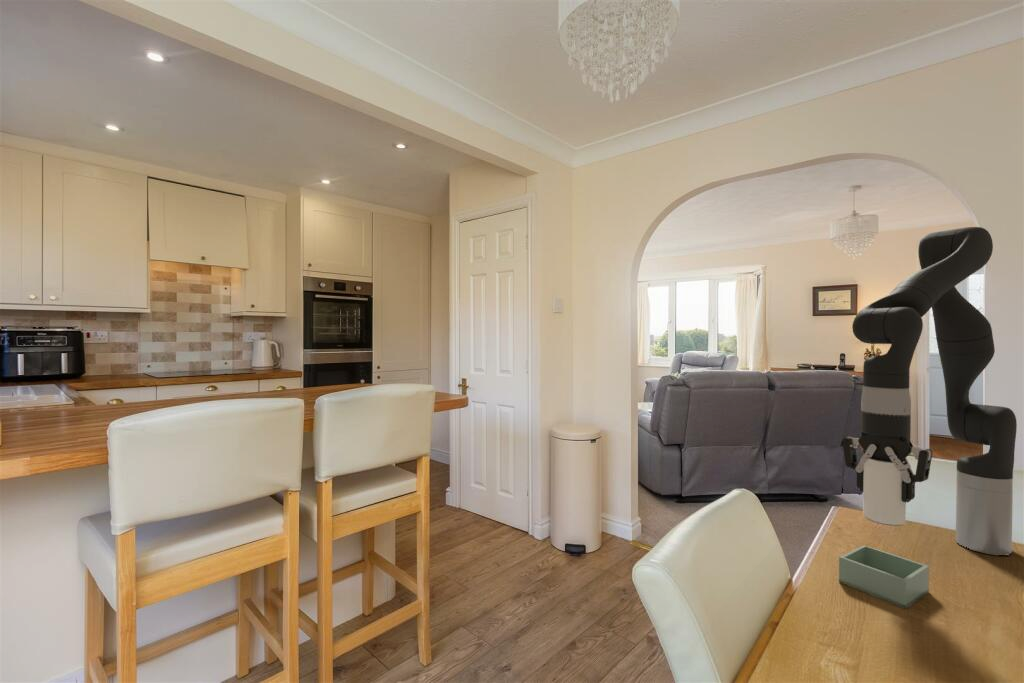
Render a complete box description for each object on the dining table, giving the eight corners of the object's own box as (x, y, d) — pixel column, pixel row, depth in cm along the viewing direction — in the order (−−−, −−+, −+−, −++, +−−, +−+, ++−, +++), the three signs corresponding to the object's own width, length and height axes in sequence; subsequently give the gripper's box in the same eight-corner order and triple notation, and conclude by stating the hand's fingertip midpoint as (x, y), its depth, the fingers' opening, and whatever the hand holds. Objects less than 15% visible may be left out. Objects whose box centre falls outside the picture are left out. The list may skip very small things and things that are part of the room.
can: (913, 527, 87) (914, 463, 87) (874, 524, 88) (874, 461, 88) (892, 515, 93) (893, 455, 93) (856, 512, 95) (857, 453, 95)
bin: (863, 568, 98) (863, 544, 98) (928, 592, 89) (928, 566, 89) (838, 582, 93) (839, 556, 93) (905, 608, 83) (906, 581, 83)
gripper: (940, 414, 87) (939, 504, 87) (852, 404, 99) (851, 483, 99) (925, 417, 83) (924, 511, 83) (834, 407, 95) (833, 489, 95)
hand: (884, 495), depth 91 cm, fingers closed on can, 6 cm apart
